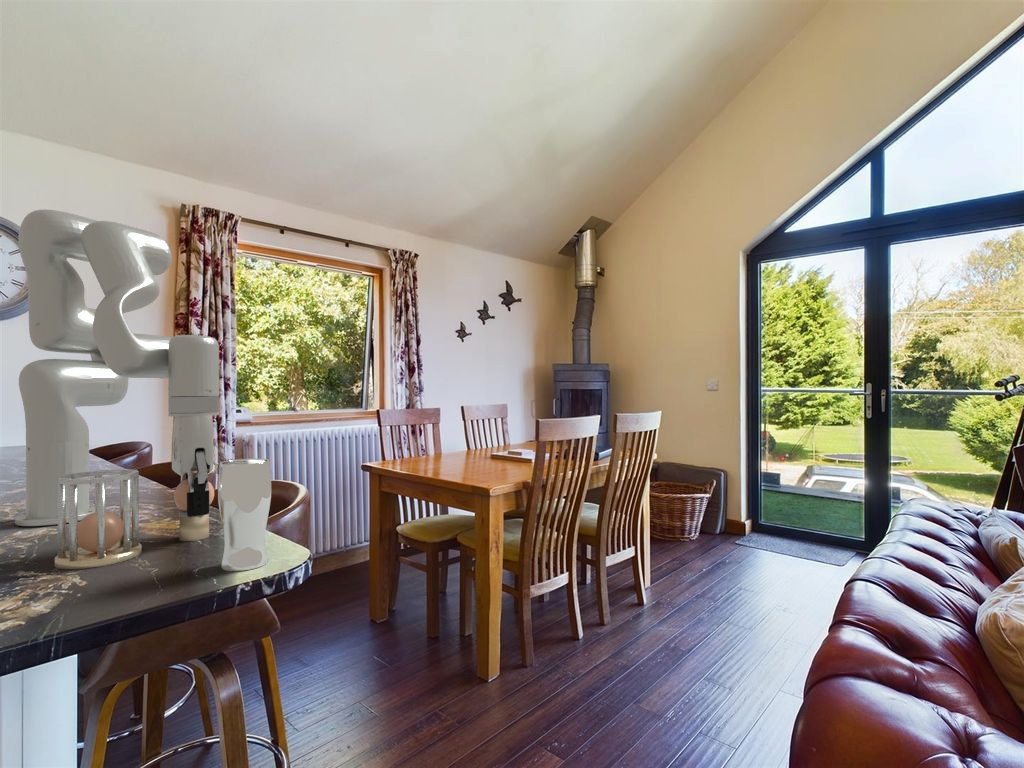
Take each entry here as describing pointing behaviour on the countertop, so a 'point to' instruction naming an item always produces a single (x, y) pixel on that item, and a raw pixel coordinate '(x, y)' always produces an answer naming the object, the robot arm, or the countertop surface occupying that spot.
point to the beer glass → (244, 512)
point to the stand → (193, 527)
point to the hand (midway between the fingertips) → (194, 510)
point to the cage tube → (98, 520)
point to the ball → (89, 531)
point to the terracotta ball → (181, 494)
